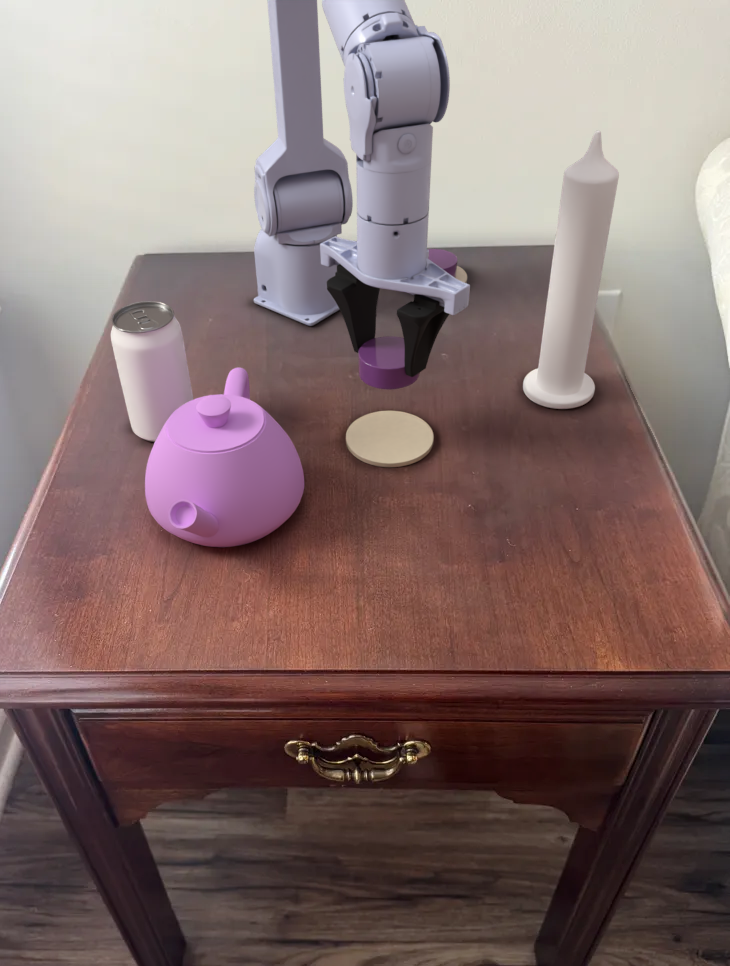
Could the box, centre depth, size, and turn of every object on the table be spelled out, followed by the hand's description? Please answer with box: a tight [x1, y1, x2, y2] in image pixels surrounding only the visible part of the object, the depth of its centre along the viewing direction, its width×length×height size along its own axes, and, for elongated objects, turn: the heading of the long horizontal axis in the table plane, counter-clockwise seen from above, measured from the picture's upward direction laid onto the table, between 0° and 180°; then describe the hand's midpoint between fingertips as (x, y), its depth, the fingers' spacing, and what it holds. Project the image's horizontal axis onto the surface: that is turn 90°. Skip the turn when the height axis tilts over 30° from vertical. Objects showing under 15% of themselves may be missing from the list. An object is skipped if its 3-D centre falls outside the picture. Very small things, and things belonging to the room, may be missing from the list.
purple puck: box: [357, 335, 421, 391], centre depth 77 cm, size 6×6×2 cm
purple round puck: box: [427, 248, 458, 278], centre depth 104 cm, size 6×6×2 cm
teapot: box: [144, 366, 305, 548], centre depth 72 cm, size 14×20×11 cm
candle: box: [522, 129, 620, 410], centre depth 78 cm, size 7×7×25 cm
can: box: [110, 300, 194, 443], centre depth 81 cm, size 6×6×12 cm
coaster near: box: [345, 410, 435, 468], centre depth 82 cm, size 8×8×1 cm
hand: (389, 359), depth 77 cm, fingers closed on purple puck, 5 cm apart
